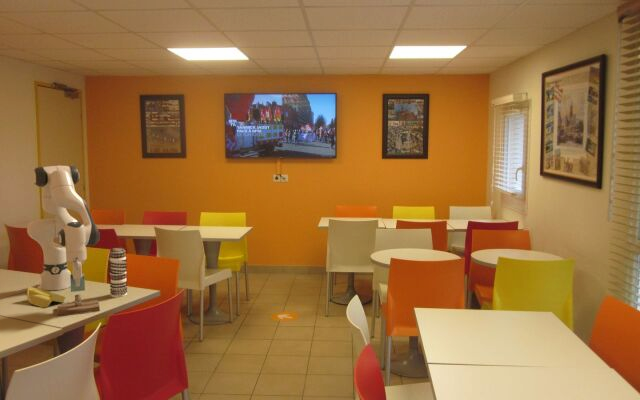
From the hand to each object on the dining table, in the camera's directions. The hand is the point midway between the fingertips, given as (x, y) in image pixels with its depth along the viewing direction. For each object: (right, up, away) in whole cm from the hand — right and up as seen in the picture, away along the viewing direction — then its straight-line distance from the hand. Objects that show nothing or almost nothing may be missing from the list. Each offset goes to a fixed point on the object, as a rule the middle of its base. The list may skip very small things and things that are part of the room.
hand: (77, 284), depth 242 cm
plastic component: (-22, -12, +13) cm, 28 cm away
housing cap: (0, -3, 0) cm, 3 cm away
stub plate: (0, -12, +1) cm, 12 cm away
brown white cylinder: (+9, -10, +27) cm, 30 cm away
